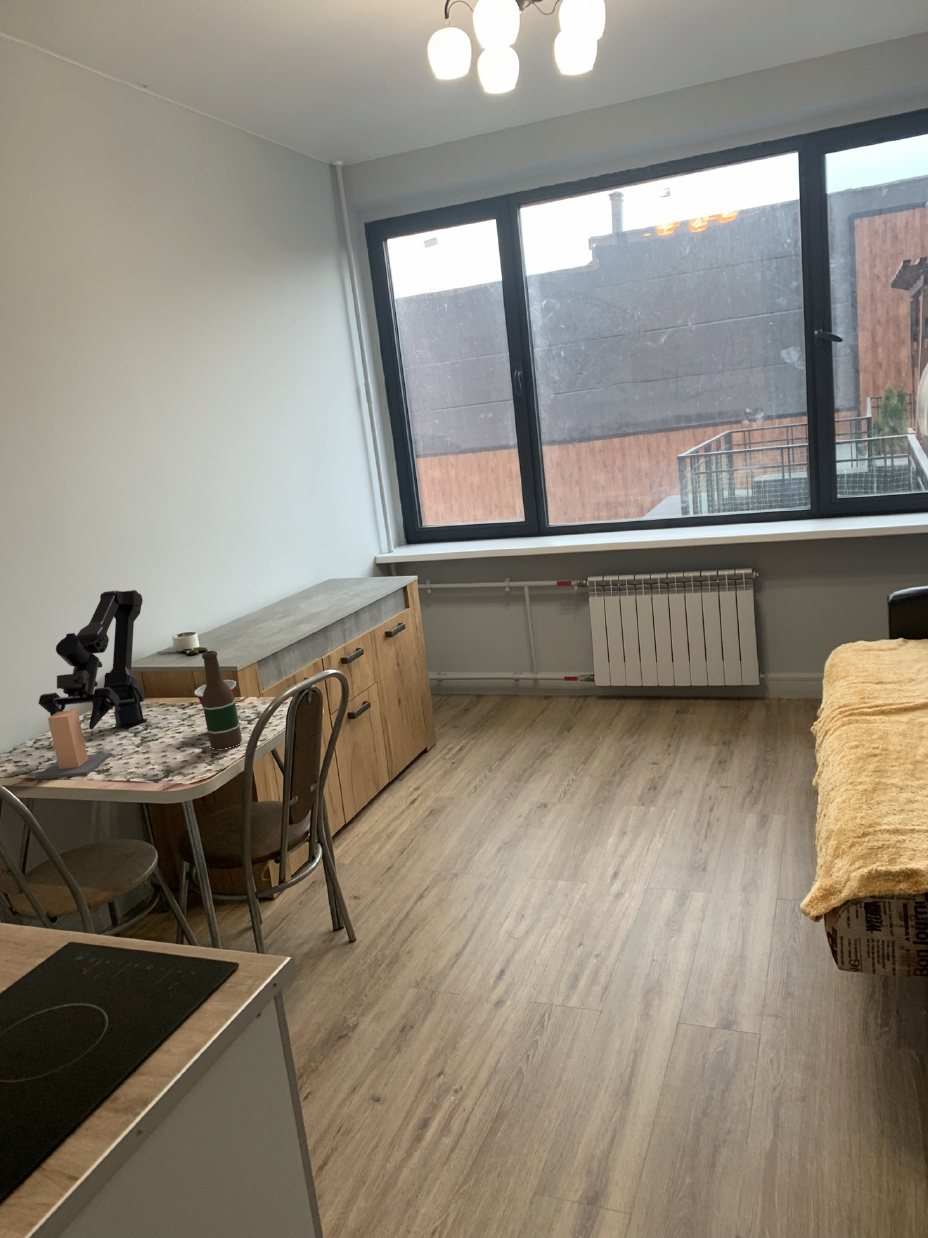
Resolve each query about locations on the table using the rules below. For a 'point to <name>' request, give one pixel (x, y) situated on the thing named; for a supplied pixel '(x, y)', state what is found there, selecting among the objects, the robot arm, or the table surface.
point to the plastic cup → (201, 689)
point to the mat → (84, 769)
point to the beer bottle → (219, 706)
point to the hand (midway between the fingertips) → (73, 730)
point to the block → (68, 739)
